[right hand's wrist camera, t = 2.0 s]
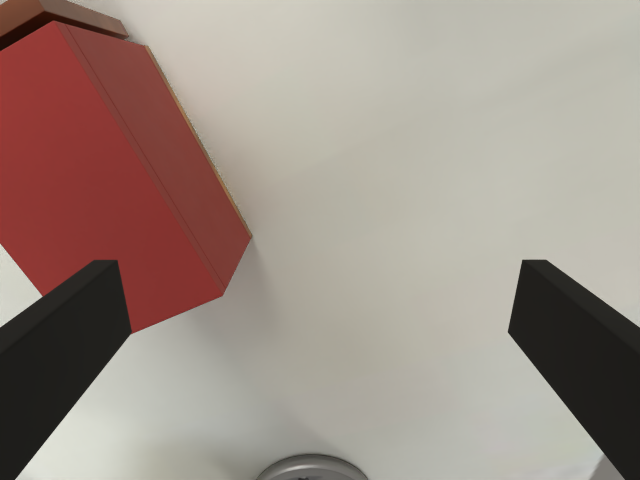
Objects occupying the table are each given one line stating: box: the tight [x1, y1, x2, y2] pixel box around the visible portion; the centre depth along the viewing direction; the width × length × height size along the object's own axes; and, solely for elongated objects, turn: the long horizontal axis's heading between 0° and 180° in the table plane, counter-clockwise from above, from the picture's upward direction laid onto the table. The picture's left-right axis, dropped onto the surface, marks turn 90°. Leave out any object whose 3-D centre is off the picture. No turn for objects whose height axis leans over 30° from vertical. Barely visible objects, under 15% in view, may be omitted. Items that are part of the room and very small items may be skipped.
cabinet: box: [0, 21, 252, 334], centre depth 28 cm, size 17×11×11 cm, turn 24°
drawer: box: [0, 0, 129, 51], centre depth 27 cm, size 22×10×10 cm, turn 24°
